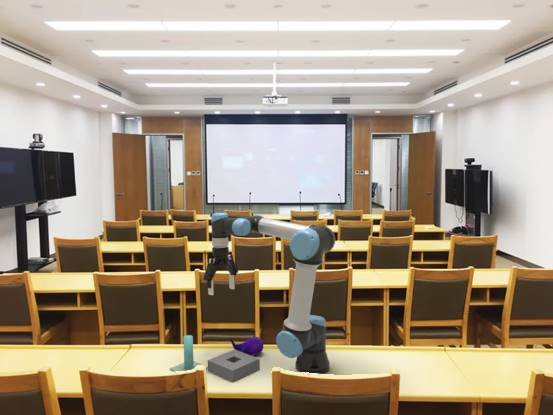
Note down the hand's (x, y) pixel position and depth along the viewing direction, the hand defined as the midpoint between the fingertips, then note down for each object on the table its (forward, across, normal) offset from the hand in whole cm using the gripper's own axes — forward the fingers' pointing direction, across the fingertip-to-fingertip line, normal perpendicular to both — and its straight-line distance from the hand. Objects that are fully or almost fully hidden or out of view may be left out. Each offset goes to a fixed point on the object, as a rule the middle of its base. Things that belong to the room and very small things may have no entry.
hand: (221, 291), depth 218 cm
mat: (+31, +19, -2) cm, 36 cm away
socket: (+31, +8, +15) cm, 35 cm away
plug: (+30, +19, -2) cm, 36 cm away
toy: (+31, -8, +7) cm, 33 cm away
